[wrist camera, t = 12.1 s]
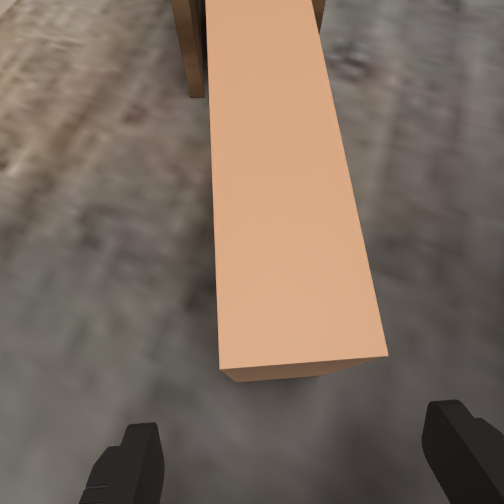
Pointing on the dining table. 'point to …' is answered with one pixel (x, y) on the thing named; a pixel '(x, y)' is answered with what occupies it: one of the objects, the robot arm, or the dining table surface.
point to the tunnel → (190, 39)
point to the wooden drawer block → (283, 201)
